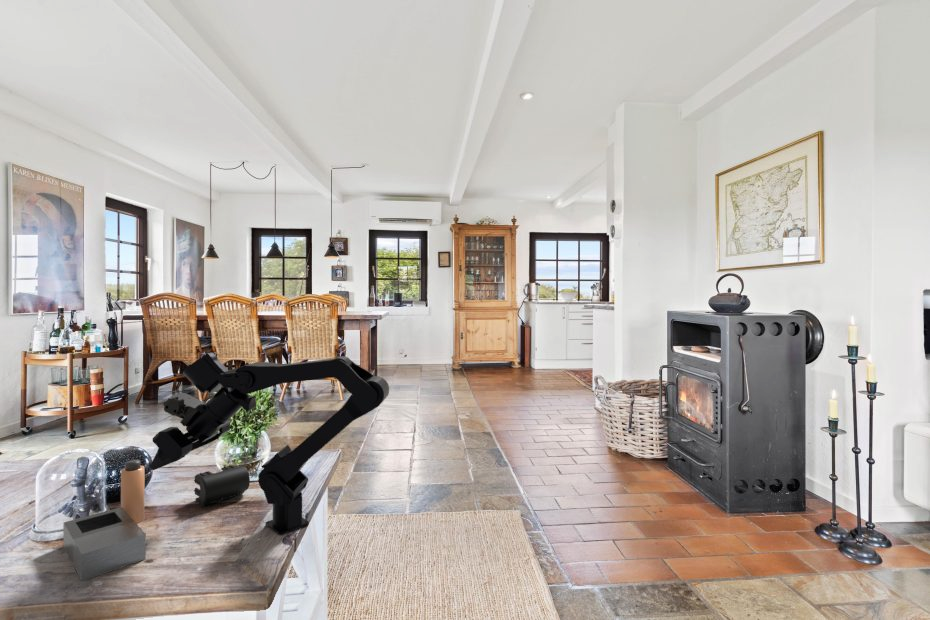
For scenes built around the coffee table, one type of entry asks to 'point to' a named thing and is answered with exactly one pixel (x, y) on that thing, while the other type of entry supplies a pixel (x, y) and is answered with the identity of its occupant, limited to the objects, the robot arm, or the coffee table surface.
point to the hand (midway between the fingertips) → (166, 460)
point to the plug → (133, 490)
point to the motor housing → (103, 542)
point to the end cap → (221, 484)
